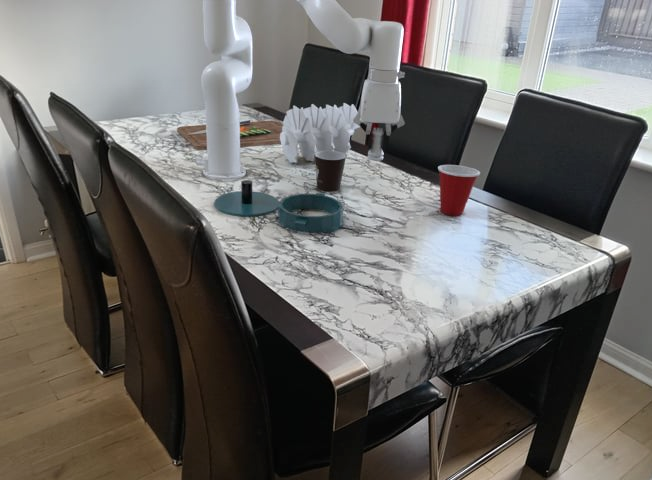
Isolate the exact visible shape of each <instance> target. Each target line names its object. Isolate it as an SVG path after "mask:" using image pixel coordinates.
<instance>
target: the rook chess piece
mask: <svg viewBox="0 0 652 480" xmlns="http://www.w3.org/2000/svg"><path fill="white" fill-rule="evenodd" d="M372 128H373V130H371V134H372V140H371V149H370V150H368V151H367V159H368V160H369V161H373V162H381V161H383V160H384V155H385V153H384V150H383V149H382V140H383V134H384V129H383V128H382V127H381V128H380V127H372Z"/></svg>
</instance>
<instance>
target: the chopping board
mask: <svg viewBox="0 0 652 480" xmlns="http://www.w3.org/2000/svg"><path fill="white" fill-rule="evenodd" d="M282 126H283V122H280V121H277V120H259V121H257V120H256V121H251V120H249V119H248V120H243V121H240V148H243V147H255V146H256V147H257V146H269V145H279V144H280V145H282V144H281V141H280V134H281V133H282ZM171 134H172V135H173V136H174V138H176V139H177V140H178V141H179V142H180V143H181V144H182V145H183V146H184V147H186V146H187V145H190V146H191V147H192V148H193V149H194V150H199V151H207V134H206V124H199V125H183V126H178V127H177V128H176V132H174V131H172V132H171ZM178 135H179V136H178Z"/></svg>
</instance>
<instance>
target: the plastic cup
mask: <svg viewBox="0 0 652 480" xmlns="http://www.w3.org/2000/svg"><path fill="white" fill-rule="evenodd" d="M437 169H438V174H439V200H440V212H441V213H442V214H444V215H446V216H451V217H460V216H461V215H463V212H464V211H465V208H466V205H467V203H468V202H469V198H470V195H471V193H472V191H473V187H474V185H475V184H476V181H477V179H478V177H479V176H480V174H481V171H480V170H477V169H476V168H473V167H469V166H464V165H457V164H441V165H438V166H437Z"/></svg>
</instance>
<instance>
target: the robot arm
mask: <svg viewBox="0 0 652 480" xmlns="http://www.w3.org/2000/svg"><path fill="white" fill-rule="evenodd" d="M295 1H296V2H297V3H298V4H299V5H300V6H301V7H302V8H303V9H304V11H305V13H306V15H307V16H308V17H309V19H310V20H311V22H312V24H313V25H314V27H315V28H316V29H317V30H318V31H319V33H321V34H322V35H323V36H324V37H325V38H326V39H327V40H328V41H329V42H330V43H331V44H332V45H333V46H334V47H335V48H336V49H337V50H339V51H340V52H342V53H344V54H348V55H352V54H357V53H359V52H363V51H368V50H369V51H370V52H369V63H368V64H369V65H368V75H367V76H368V77H367V79H365V80H364V82H363V87H362V91H361V97H360V106H359V109H358V110H357V112H358V113H357V114H356V116H355V117H354V119H353V122H354V123H356V124H357V125H359V126H360V128H361V129H362V130H363V131H364V133H365V141H364V146H366V147H367V150H368V151H369V150H370V149H371V146H372V141H373V139H372V137H373V134H372V128H373V127H372V126H373V123H374V124H375V123H376V124H384V127H385V130H383V132H384V134H383V135H382V138H383V139H382V142H381V145H382V150H383V152H384V151H386V150H387V148H388V147H389V141H390V136H391V134H393V133H394V132H395V131H396V130H397V129H399V128H400V127H403V126H404V125H405V124H406V123H405V120H404V118H403V115H402V114H401V105H402V88H401V87H402V85H401V82H400V81H399V80H400V79H404V78H405V74H406V73H405V71H401V70H400V67H401V58H402V50H403V49H402V48H403V40H404V32H405V30H404V26H403V24H402V23H401V22H398V21H390V20H389V21H388V20H381V21H378V20H374V19H371V18H370V19H369V18H365V17H355V18H353V16H351V15H350V14H349V13H348V12H347V11H346V10H345V9H344V8H343V7H342V6H341V5H340V4H339V3H338V1H336V0H295ZM202 21H203V24H202V25H203V41H204V45H205V48H206V49H207V51H208V52H209V53H210V54H211V55H214V56H218V57H219V56H221V59H219V60H216V61H213V62H211V63H209V64H208V65H206V66H205V68H204V69H203V70H202V73H201V76H200V86H201V87H200V88H201V92H202V96H203V102H204V111H205V112H204V113H205V125H206V134H207V150H206V153H207V156H206V157H203V156H195V165H196V166H202V167H204V168H203V169H202V174H203V176H204V177H207V178H210V179H214V180H235V179H239V178H242V177H244V176H245V175H246V173H247V171H246V168H244V166H241V147H240V122H241V121H240V120H241V119H240V117H241V116H240V106H239V102H238V99H237V94H239V93H242V92H244V91H246V90H247V89H248V88H249V86H250V84H251V83H252V80H253V34H252V30H251V27H250V25H249V23H248V22H247V20H245V19H244V18H242V17H241V16H239V15H237V0H202ZM360 118H361V120H362V121H363V122H362V121H361V120H360Z"/></svg>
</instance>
